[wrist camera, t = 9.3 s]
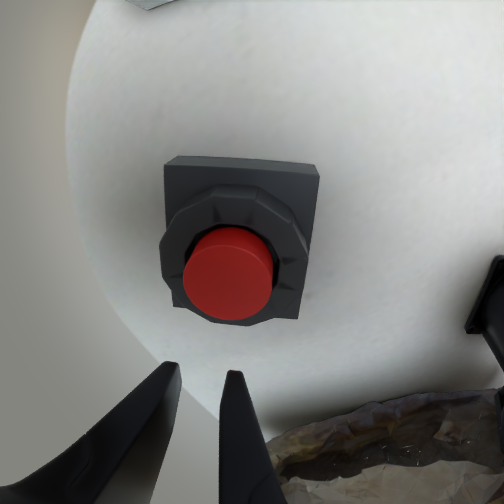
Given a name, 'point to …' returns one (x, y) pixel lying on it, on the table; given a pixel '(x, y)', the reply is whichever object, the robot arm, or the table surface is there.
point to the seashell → (397, 453)
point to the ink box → (148, 3)
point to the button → (229, 274)
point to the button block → (241, 221)
